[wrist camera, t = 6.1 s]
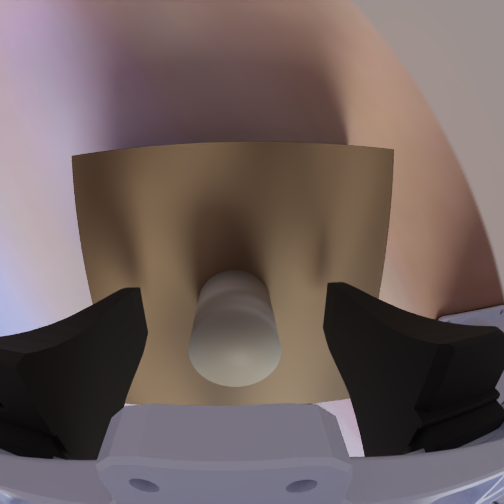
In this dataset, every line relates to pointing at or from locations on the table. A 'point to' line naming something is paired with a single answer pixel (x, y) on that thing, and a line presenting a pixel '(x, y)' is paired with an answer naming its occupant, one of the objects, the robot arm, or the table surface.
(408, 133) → the table surface
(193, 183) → the cover
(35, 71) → the table surface
